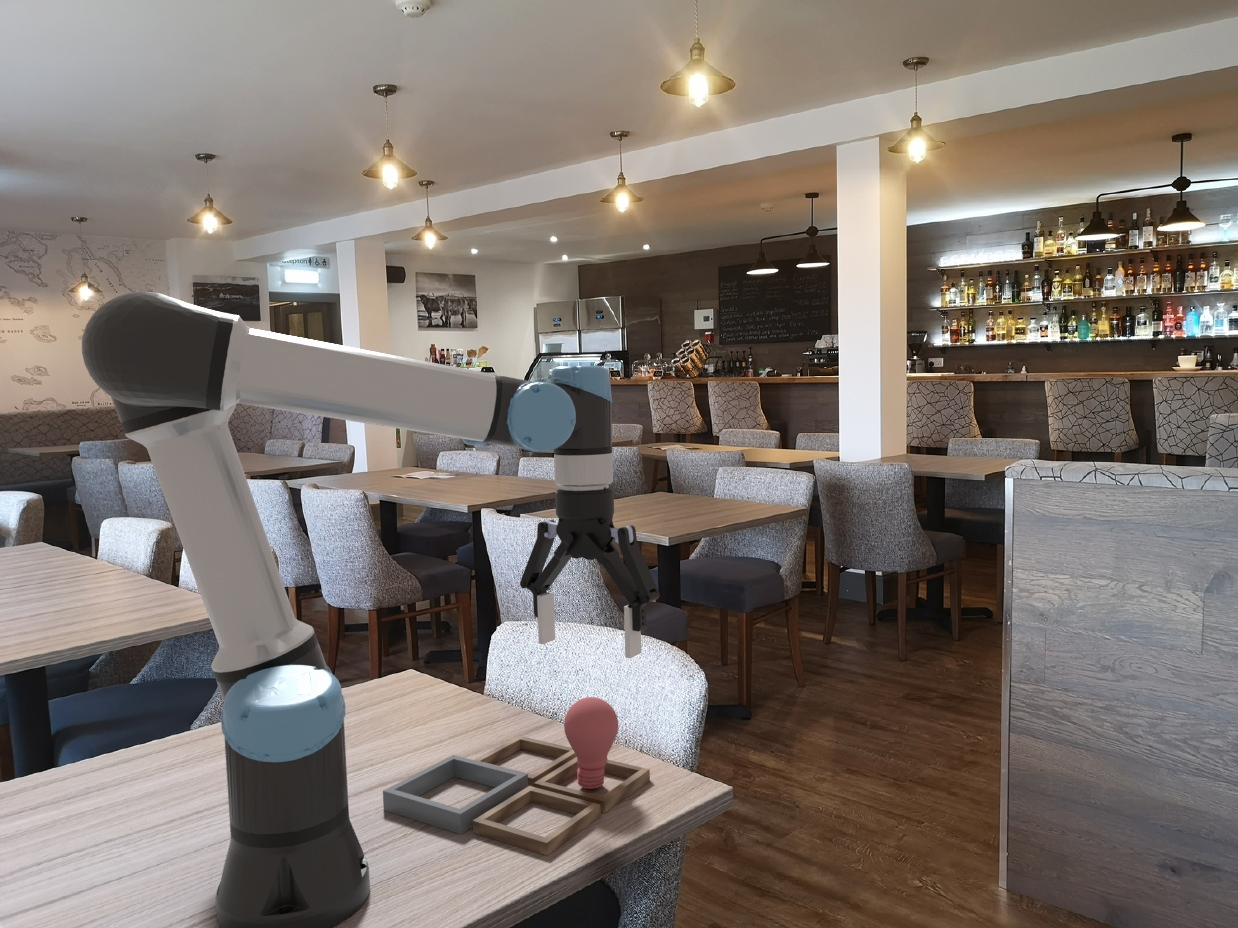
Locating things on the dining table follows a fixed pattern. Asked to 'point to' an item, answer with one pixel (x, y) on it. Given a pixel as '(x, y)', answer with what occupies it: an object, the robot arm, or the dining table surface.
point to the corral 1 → (457, 820)
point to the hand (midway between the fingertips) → (588, 648)
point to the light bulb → (591, 738)
